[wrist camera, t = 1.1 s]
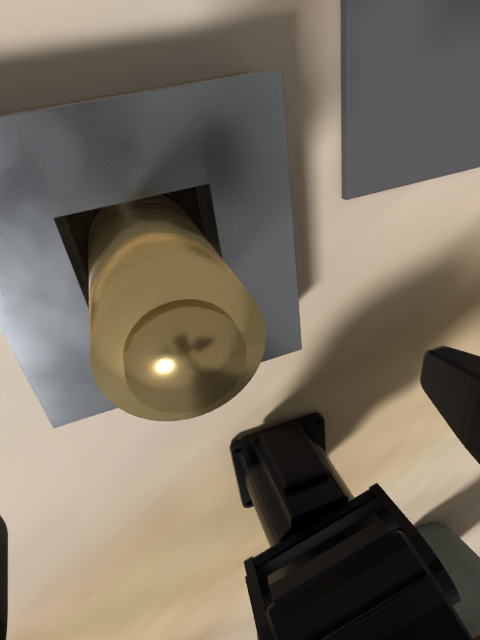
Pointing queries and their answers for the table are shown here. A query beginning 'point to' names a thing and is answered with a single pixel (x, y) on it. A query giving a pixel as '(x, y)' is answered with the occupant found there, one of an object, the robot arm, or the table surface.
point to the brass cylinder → (166, 314)
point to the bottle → (458, 572)
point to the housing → (131, 184)
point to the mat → (408, 92)
